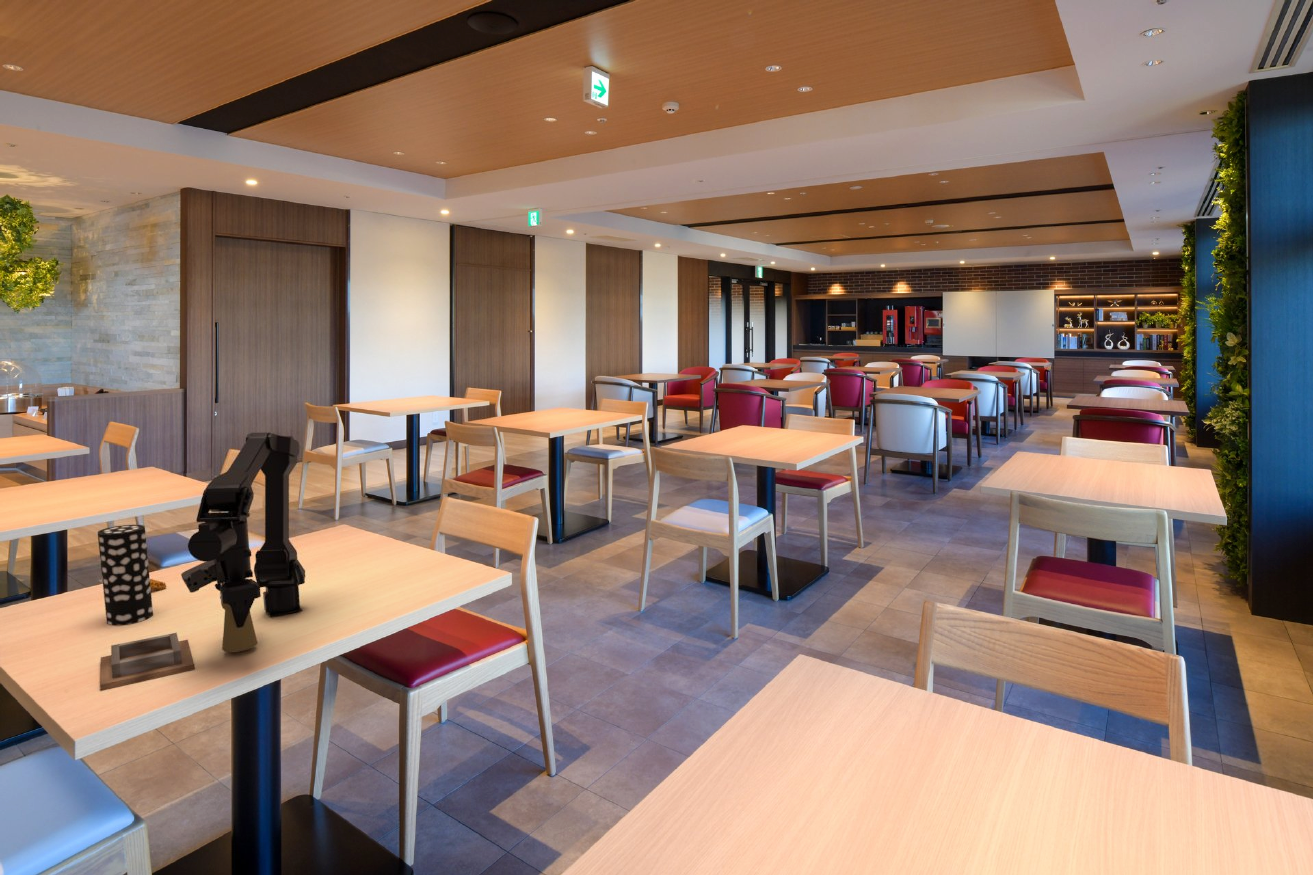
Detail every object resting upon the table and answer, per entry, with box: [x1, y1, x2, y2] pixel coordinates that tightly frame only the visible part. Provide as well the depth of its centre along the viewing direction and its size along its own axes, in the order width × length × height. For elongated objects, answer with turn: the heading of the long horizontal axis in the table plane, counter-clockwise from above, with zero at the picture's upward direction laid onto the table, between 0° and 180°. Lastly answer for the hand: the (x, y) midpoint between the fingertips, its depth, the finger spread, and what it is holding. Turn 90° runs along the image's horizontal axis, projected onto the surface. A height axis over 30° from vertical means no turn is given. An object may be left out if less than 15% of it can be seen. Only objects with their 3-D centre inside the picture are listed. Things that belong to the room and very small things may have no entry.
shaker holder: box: [99, 632, 196, 691], centre depth 138 cm, size 14×14×4 cm
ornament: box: [150, 578, 167, 591], centre depth 178 cm, size 7×10×15 cm
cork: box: [220, 600, 258, 653], centre depth 144 cm, size 6×6×11 cm
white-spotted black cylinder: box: [97, 524, 154, 626], centre depth 161 cm, size 8×8×20 cm
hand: (238, 623), depth 144 cm, fingers closed on cork, 4 cm apart
